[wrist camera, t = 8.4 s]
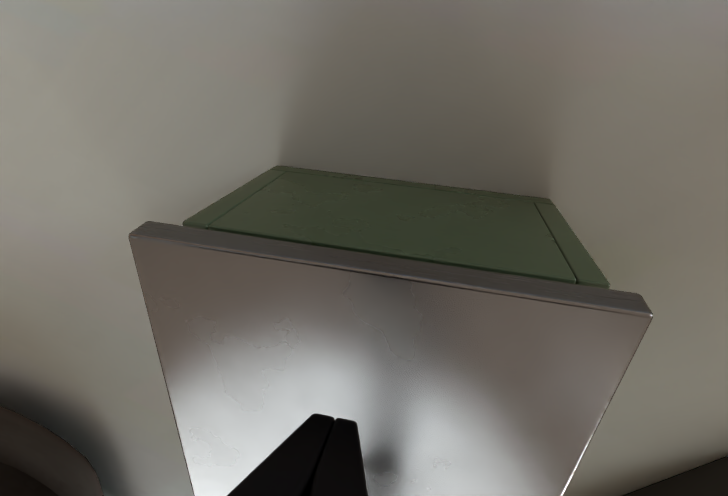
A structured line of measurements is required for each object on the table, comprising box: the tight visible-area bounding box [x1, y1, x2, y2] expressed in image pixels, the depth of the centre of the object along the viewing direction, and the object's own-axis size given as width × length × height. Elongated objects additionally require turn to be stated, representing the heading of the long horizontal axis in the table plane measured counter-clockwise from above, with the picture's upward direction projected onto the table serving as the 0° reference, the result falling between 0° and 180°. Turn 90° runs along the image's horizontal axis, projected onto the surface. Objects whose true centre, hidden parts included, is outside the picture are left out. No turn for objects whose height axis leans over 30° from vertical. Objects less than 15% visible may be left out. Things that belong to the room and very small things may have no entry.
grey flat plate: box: [129, 221, 653, 496], centre depth 13 cm, size 13×12×1 cm
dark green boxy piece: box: [183, 166, 610, 289], centre depth 17 cm, size 13×12×7 cm
